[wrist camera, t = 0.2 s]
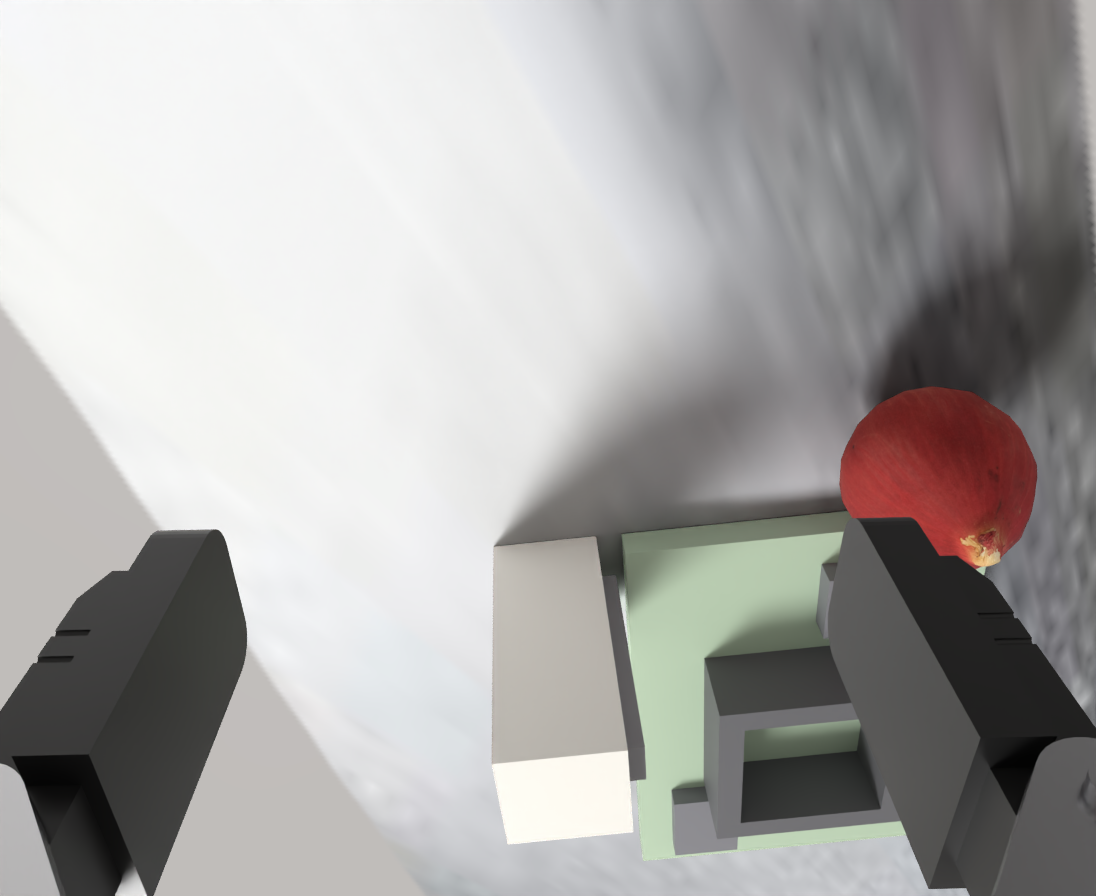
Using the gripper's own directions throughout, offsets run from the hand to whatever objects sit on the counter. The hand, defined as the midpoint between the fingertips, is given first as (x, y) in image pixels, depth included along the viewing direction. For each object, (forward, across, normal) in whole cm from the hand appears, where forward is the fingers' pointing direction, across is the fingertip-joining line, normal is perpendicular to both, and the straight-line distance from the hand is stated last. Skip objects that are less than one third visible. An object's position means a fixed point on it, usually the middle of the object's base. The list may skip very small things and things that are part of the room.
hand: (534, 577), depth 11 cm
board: (+19, -11, +22) cm, 31 cm away
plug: (+18, 0, +15) cm, 24 cm away
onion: (+19, -13, +8) cm, 24 cm away
